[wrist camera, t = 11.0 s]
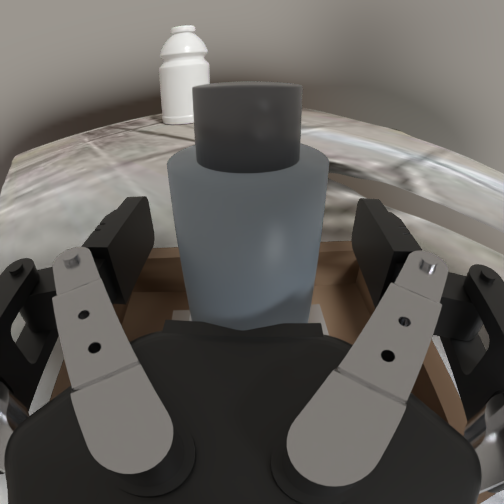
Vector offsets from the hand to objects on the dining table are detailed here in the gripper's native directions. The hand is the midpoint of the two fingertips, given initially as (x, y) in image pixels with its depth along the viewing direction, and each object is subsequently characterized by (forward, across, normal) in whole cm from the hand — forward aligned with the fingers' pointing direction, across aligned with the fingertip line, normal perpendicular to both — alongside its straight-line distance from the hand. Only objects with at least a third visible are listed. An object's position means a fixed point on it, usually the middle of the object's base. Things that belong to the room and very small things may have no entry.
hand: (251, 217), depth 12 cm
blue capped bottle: (-2, 0, +9) cm, 9 cm away
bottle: (+77, +20, +10) cm, 80 cm away
